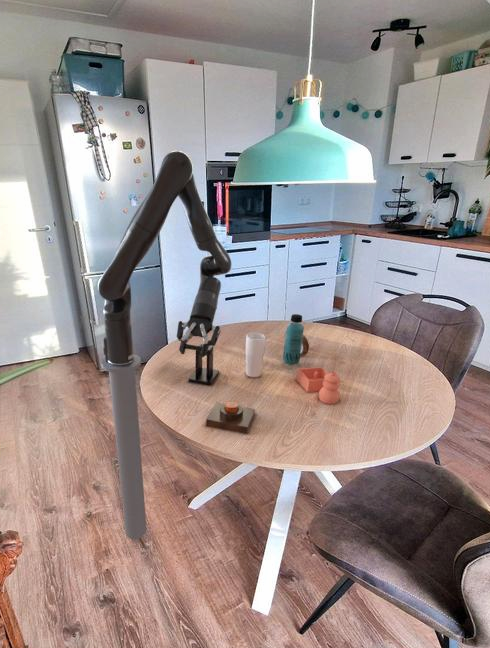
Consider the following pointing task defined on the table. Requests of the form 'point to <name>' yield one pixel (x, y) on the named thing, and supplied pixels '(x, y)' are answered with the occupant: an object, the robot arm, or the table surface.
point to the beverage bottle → (293, 341)
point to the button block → (231, 418)
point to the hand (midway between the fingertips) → (192, 354)
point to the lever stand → (204, 369)
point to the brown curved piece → (303, 345)
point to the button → (231, 407)
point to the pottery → (320, 383)
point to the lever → (193, 347)
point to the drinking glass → (254, 353)
